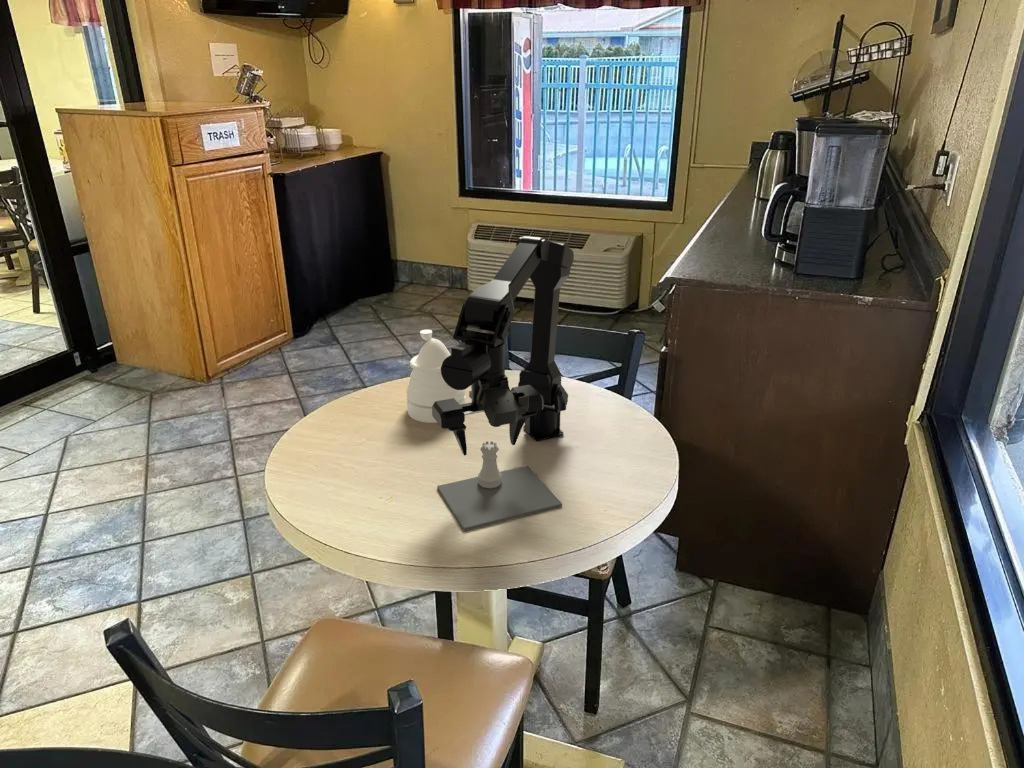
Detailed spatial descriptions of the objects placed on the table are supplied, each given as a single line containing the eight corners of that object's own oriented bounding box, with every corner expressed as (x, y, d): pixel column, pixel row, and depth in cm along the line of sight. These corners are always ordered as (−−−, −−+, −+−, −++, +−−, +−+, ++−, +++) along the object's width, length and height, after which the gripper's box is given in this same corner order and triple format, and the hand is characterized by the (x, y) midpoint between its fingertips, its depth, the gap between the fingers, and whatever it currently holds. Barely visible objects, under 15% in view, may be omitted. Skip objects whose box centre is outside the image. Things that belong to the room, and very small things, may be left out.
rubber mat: (528, 468, 136) (528, 465, 135) (561, 506, 124) (562, 503, 124) (437, 488, 129) (437, 485, 129) (464, 531, 117) (463, 528, 117)
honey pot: (395, 413, 157) (389, 336, 150) (433, 392, 167) (429, 319, 159) (440, 428, 150) (436, 348, 143) (477, 406, 160) (475, 330, 153)
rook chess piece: (493, 492, 127) (493, 453, 123) (472, 485, 129) (471, 446, 126) (506, 481, 130) (506, 442, 127) (486, 474, 132) (486, 436, 129)
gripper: (450, 395, 110) (454, 482, 116) (559, 376, 117) (556, 459, 123) (429, 369, 119) (433, 451, 126) (530, 353, 126) (529, 432, 132)
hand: (488, 449), depth 126 cm, fingers open, 9 cm apart
